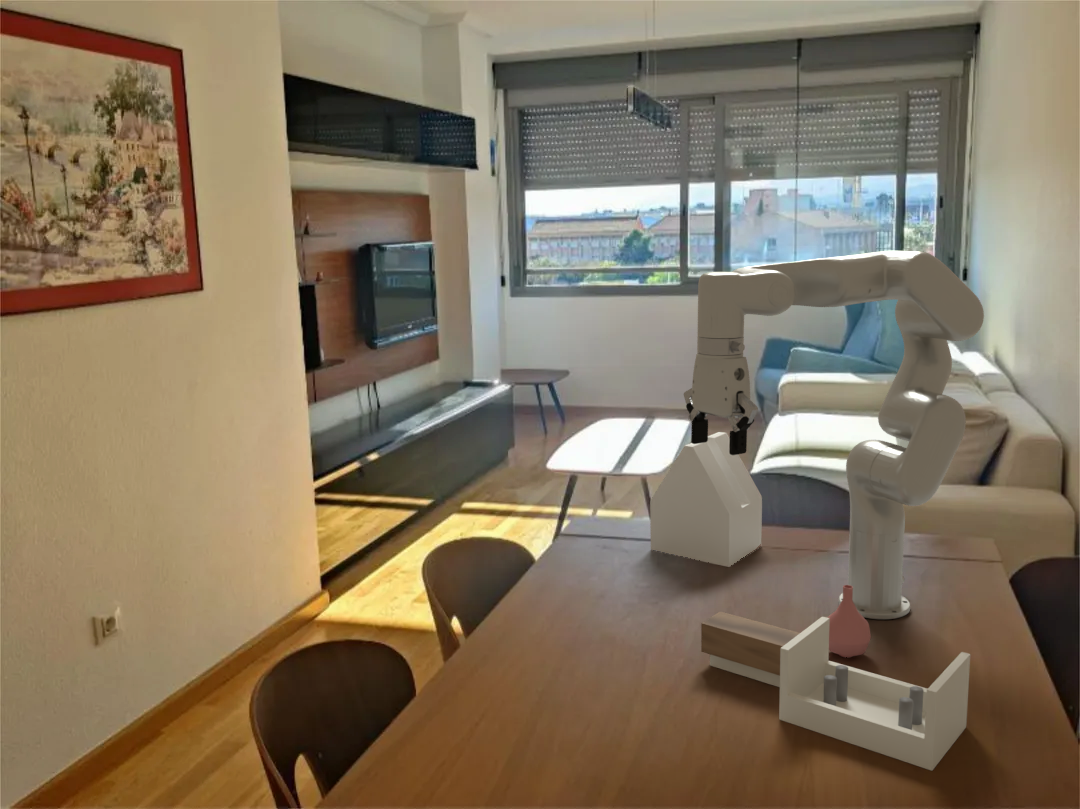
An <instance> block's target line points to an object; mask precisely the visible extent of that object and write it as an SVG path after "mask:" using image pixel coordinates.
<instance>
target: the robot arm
mask: <svg viewBox="0 0 1080 809" xmlns="http://www.w3.org/2000/svg"><path fill="white" fill-rule="evenodd" d="M697 285H698V286H697V289H698V291H697V336H696V337H697V340H696V342H697V347H696V348H697V349H696V356H695V360H694V366H693V373H692V384H691V385H692V386H691V388H690V389H687V390H686V391H684V392H683V398H684V401H685V404H686V405H685V407H686V410H687V411H688V413H689V415H688V419H689V420H690V421H691V427H690V428H691V433H690V434H691V437H690V438H691V439H690V441H691V442H690V443H693V444H698V443H704V442H707V441H708V436H709V418H707V416H708V415H709V416H710V415H711V416H715V417H718V418H724V419H727V420H728V422H729V423H728V424H730V427H731V429H732V430H730V431H729V438H730V443H729V453H730V454H731V455H738V454H739V455H743V454H746V453H747V443H748V441H747V439H748V431H749V430H750V428H751V425H752V424H754V422H755V418H756V416H757V414H758V411H759V409H758V408H759V407H758V406H757V405H756V404H755V403H754V402H753V401H752V400H751V382H750V373H749V372H750V371H749V366H748V361H747V360H748V359H747V357H746V356H744V350H745V347H746V346H745V344H744V340H745V338H744V337H745V336H744V334H745V333H744V332H745V316H746V315H755V316H756V315H757V316H764V317H765V316H766V317H773V316H777V315H781V314H783V313H785V312H786V311H787V310H788V309H790V308H791V306H802V307H803V306H804V307H812V308H837V307H838V308H839V307H845V306H851V305H856V304H864V303H872V302H879V301H880V302H881V301H888V300H889V301H890V300H897V301H896V304H895V308H894V318H895V320H896V323H897V326H898V329H899V331H900V333H901V337H902V341H903V350H904V352H903V358H902V361H901V364H900V366H899V368H898V370H897V373H896V375H895V377H894V379H893V381H892V383H891V385H890V388H889V389H888V391H887V393H886V396H885V397H884V400H883V402H882V404H881V406H880V408H879V412H878V416H877V419H878V420H877V421H878V425H879V427H880V429H881V430H882V431H883V432H884V433H886V434H887V435H889V436H892V437H894V438H896V439H899V440H903V441H906V442H908V443H907V446H906V447H904V446H902V445H898V444H896V443H892V442H888V441H885V440H880V439H868V440H863V441H861V442H859V443H857V444H855V445H854V446H853V447H852V448H851V450H850V451H849V454H848V456H847V458H846V463H845V473H846V480H847V486H848V492H849V506H850V508H849V511H850V512H849V515H850V516H849V536H848V537H849V538H848V539H849V540H848V541H849V544H848V545H849V546H848V567H847V569H848V574H847V577H848V578H847V585H851V586H853V597H852V600H853V602H854V604H855V606H856V608H857V610H858V612H859V613H860V614H861V615H862V616H863V617H864V618H866V619H872V620H892V619H895V620H896V619H899V618H902V617H904V616H907V615H908V614H909V613H910V610H911V603H910V601H909V599H908V598H906V597H904V596H903V594H902V592H903V591H902V590H903V584H904V582H905V577H904V576H903V567H904V566H903V564H904V549H905V548H904V547H905V546H904V544H905V530H906V529H905V528H906V527H905V526H906V523H905V522H906V514H905V513H906V512H905V508H904V506H908V507H909V506H910V507H917V506H921V505H923V504H926V503H927V502H929V501H930V500H931V499H932V498H933V496H934V495H935V494H936V493H937V491H938V489H939V488H940V486H941V484H942V482H943V480H944V478H945V477H946V474H947V472H948V470H949V468H950V466H951V463H952V462H953V459H954V457H955V455H956V454H957V452H958V450H959V447H960V445H961V442H962V441H963V439H964V436H965V432H966V423H967V419H966V417H967V416H966V412H965V410H964V408H963V406H962V405H961V403H960V402H959V401H958V400H956V399H955V398H953V397H952V396H949V395H946V394H943V393H944V390H945V388H946V386H947V383H948V380H949V379H950V376H951V373H952V366H953V360H952V353H951V350H950V346H949V343H948V341H951V342H961V341H962V342H963V341H966V340H969V339H971V338H973V337H974V336H975V335H976V334H977V333H978V332H979V331H980V330H981V328H982V326H983V323H984V319H985V318H984V317H985V315H984V314H985V312H984V308H983V305H982V303H981V300H980V299H979V298H978V296H977V295H976V293H975V292H973V290H972V289H971V288H970V287H968V286H967V284H966V283H964V282H963V281H962V280H961V279H960V278H959V277H958V276H957V275H956V274H955V273H954V272H953V271H952V270H951V269H950V268H949V267H948V266H947V265H946V264H944V262H942V261H941V260H940V259H939V258H937V257H936V256H934V255H932V253H928V252H925V251H919V250H918V251H917V250H913V251H912V250H896V249H895V250H880V251H872V252H866V253H863V252H862V253H859V254H849V255H842V256H841V255H840V256H832V257H823V258H822V257H821V258H813V259H806V260H799V261H791V262H787V261H786V262H778V263H769V264H768V263H767V264H759V265H752V266H744V267H738V268H735V269H734V270H732V271H709V272H705V273H703V274H701V276H699V279H698V284H697ZM737 419H738V421H737ZM842 600H843V592H842V593H841V594H840V595H839V597H838V604H839V605H840V603H841V602H842ZM839 605H838V606H839Z"/></svg>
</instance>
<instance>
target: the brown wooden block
mask: <svg viewBox="0 0 1080 809" xmlns="http://www.w3.org/2000/svg"><path fill="white" fill-rule="evenodd" d="M700 623H701V624H700V626H701V627H700V628H701V630H700V634H701V636H700V637H701V639H700V640H701V641H700V643H701V644H700V645H701V646H700V647H701V650H700V651H701V653H703V654H707V655H709V656H710V655H714V656H717V657H720V658H723V659H727V660H730V661H733V662H737V663H740V664H743V665H746V666H750V667H753V668H756V669H760V670H763V671H766V672H769V673H773V674H776V675H779V676H780V648H781V647H783V646H784V645H785V644H787V643H788V642H789V641H791V640H792V639H793V638H794V637H796V636H797V635H798V634H800V633H801V632H798V631H795V630H790V629H787V628H784V627H781V626H780V627H779V626H776V625H772V624H769V623H765V622H761V621H758V620H753V619H749V618H746V617H743V616H739V615H735V614H731V613H728V612H724V611H721V610H720V611H719V612H717V613H716V614H713V615H712V616H710V617H709V618H707V619H706V620H704V621H702V622H700Z"/></svg>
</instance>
